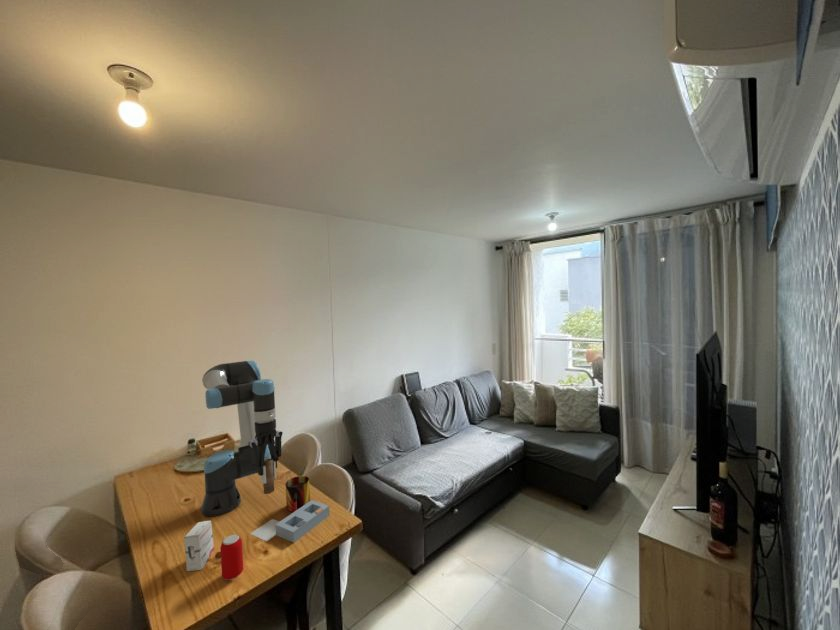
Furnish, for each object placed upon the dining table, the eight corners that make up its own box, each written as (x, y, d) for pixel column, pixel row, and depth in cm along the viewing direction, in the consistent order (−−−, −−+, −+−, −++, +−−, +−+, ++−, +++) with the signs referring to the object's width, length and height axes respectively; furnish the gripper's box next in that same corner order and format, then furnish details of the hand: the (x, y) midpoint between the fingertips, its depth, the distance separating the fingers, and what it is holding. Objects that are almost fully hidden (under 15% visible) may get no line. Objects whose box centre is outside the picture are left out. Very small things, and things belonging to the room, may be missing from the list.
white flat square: (250, 536, 129) (249, 533, 129) (272, 521, 138) (272, 518, 138) (266, 544, 124) (266, 541, 124) (289, 528, 133) (289, 525, 133)
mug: (295, 523, 136) (293, 493, 136) (283, 508, 146) (282, 481, 146) (317, 513, 142) (316, 485, 142) (305, 499, 153) (304, 473, 152)
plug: (261, 492, 130) (259, 461, 129) (270, 487, 133) (268, 457, 133) (267, 494, 128) (266, 463, 128) (276, 490, 131) (274, 459, 131)
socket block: (276, 537, 128) (275, 523, 127) (312, 511, 143) (311, 499, 143) (294, 545, 123) (293, 531, 123) (329, 517, 138) (329, 505, 138)
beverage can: (233, 566, 114) (231, 531, 113) (247, 569, 112) (246, 534, 112) (217, 580, 108) (215, 543, 108) (232, 584, 106) (230, 547, 106)
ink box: (200, 553, 121) (198, 521, 120) (214, 552, 121) (212, 519, 121) (185, 572, 112) (183, 537, 112) (201, 570, 112) (199, 535, 112)
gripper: (251, 428, 121) (254, 492, 121) (289, 414, 135) (292, 472, 136) (238, 425, 125) (242, 488, 125) (277, 412, 139) (280, 468, 139)
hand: (268, 479), depth 130 cm, fingers closed on plug, 4 cm apart
